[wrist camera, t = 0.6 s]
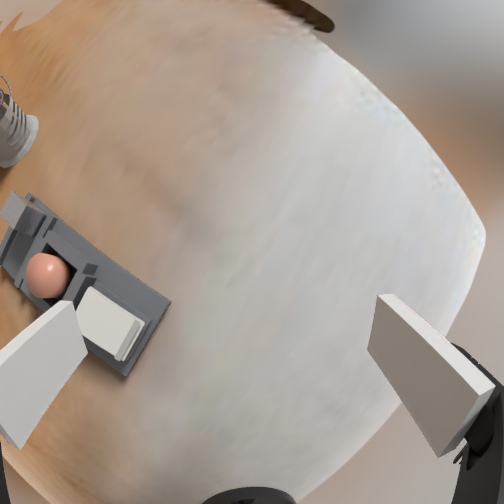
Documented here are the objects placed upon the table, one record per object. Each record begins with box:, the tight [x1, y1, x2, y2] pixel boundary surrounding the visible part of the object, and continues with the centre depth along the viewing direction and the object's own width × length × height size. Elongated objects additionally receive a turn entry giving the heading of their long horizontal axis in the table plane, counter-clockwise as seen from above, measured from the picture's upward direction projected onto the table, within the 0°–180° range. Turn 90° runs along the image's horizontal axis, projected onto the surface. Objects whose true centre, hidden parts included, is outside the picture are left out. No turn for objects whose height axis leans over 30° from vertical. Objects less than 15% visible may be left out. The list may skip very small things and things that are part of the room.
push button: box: [26, 253, 71, 298], centre depth 22 cm, size 4×4×3 cm
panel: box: [0, 192, 171, 377], centre depth 25 cm, size 10×24×5 cm, turn 59°
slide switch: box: [0, 191, 47, 237], centre depth 22 cm, size 3×4×5 cm
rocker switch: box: [75, 286, 145, 361], centre depth 22 cm, size 4×6×2 cm
